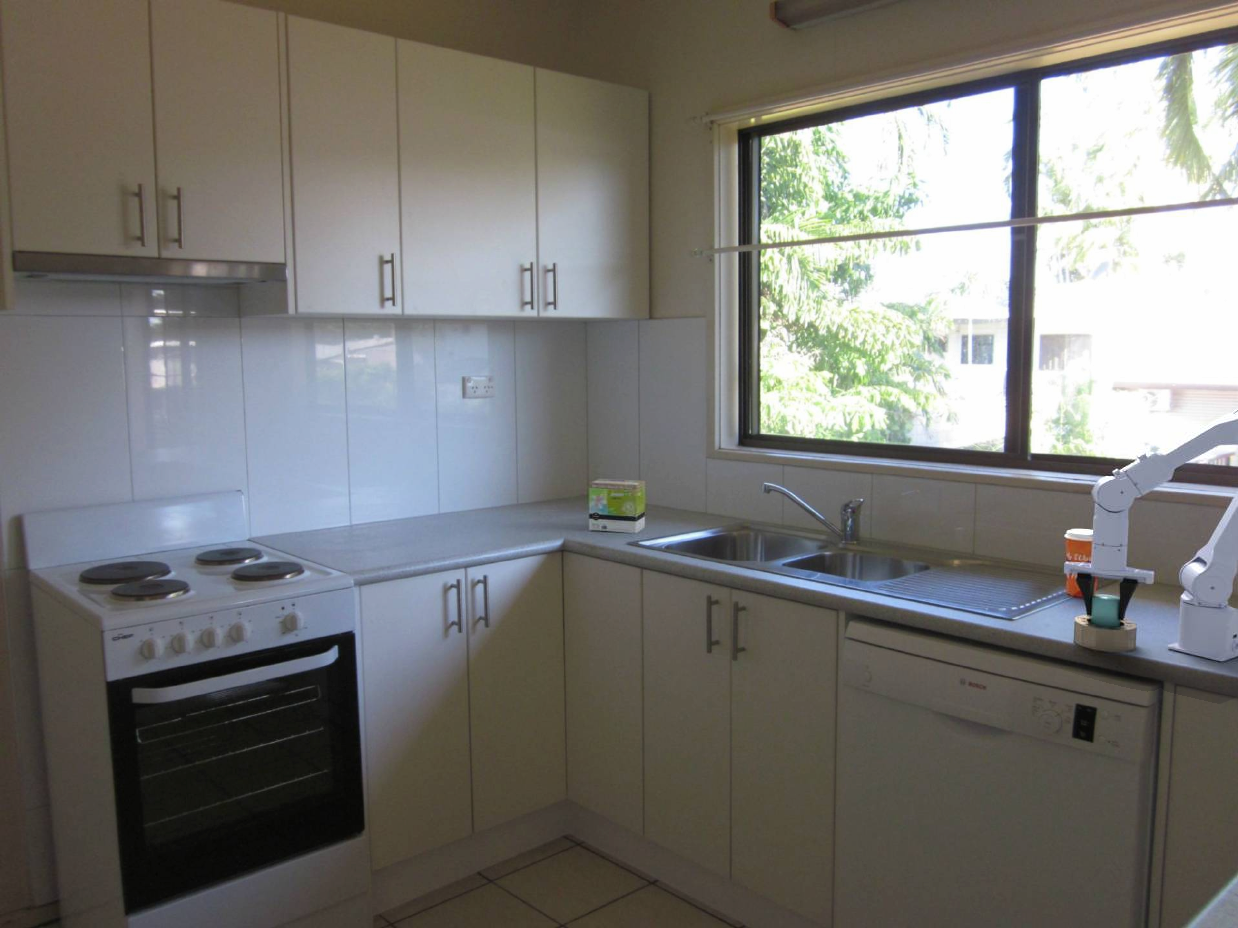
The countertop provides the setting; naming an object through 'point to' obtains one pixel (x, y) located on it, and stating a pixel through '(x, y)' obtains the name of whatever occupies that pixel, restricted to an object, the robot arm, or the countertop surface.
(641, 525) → the tea box
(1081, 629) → the brown faceted tube
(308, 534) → the countertop surface
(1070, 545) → the paper cup
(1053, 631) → the countertop surface
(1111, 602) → the teal rounded cylinder
